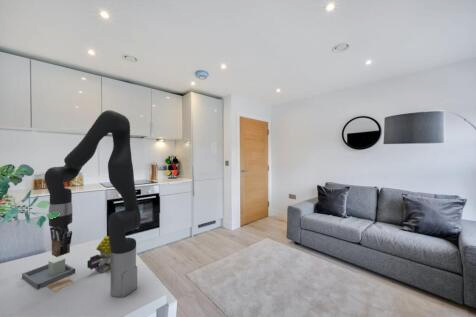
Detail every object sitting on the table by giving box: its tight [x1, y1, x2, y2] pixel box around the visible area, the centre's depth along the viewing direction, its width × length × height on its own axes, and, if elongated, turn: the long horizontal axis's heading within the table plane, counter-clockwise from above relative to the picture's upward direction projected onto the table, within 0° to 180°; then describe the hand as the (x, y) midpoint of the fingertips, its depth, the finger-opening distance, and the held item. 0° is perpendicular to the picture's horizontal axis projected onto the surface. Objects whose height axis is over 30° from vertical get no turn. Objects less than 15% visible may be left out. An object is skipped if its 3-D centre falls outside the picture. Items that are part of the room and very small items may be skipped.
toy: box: [86, 235, 111, 274], centre depth 96 cm, size 10×13×15 cm
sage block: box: [48, 255, 66, 276], centre depth 93 cm, size 4×4×6 cm
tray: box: [21, 263, 76, 290], centre depth 91 cm, size 16×13×2 cm
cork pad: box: [45, 276, 75, 293], centre depth 85 cm, size 7×7×1 cm
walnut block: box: [51, 238, 71, 258], centre depth 85 cm, size 4×4×6 cm
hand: (60, 252), depth 85 cm, fingers closed on walnut block, 4 cm apart
